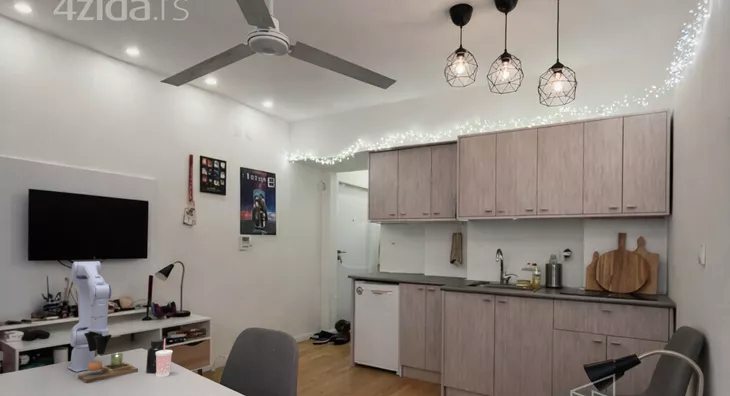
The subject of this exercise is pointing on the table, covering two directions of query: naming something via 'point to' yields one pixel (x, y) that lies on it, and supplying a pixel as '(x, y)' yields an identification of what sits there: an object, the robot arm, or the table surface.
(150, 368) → the supplement bottle
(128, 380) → the table surface
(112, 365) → the cell
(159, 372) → the beverage cup
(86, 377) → the board
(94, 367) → the button
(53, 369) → the table surface
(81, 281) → the robot arm
